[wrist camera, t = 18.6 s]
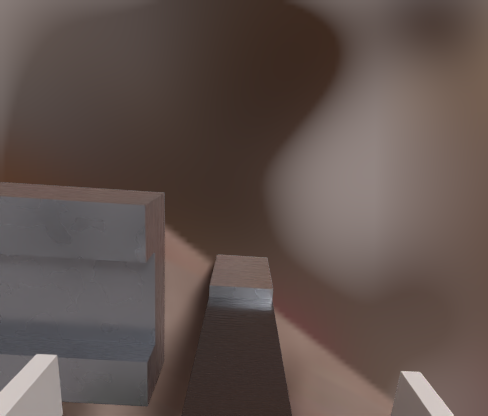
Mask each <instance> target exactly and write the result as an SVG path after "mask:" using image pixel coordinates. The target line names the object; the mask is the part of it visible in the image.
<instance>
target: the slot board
mask: <svg viewBox="0 0 488 416" xmlns="http://www.w3.org/2000/svg"><path fill="white" fill-rule="evenodd" d="M164 209H165V193H161V192H145V191H129V190H114V189H99V188H82V187H68V186H51V185H36V184H20V183H6V182H0V392H1V391H2V390H3V388H4V387H5V386H6V385H7V384H8V383H9V382H10V381H11V380H12V379H13V378H14V377H15V376H16V375H17V374H18V373H19V372H20V371H21V370H22V369H23V368H24V367H25V366H26V365H27V363H28V362H29V361H30V360H31V359H32V358H33V357H34V356H35V355H36V354H47V355H57V357H58V368H59V378H60V389H61V399H62V402H78V403H96V404H114V405H131V406H148V404H149V402H150V399H151V396H152V393H153V391H154V388H155V385H156V383H157V380H158V377H159V374H160V372H161V369H162V366H163V363H164V233H165V216H164V215H165V211H164Z"/></svg>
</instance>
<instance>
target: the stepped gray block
mask: <svg viewBox="0 0 488 416" xmlns="http://www.w3.org/2000/svg"><path fill="white" fill-rule="evenodd" d="M272 296H273V286H272V281H271V275H270V270H269V266H268V259H267V258H262V257H247V256H232V255H231V256H230V255H217V257H216V261H215V265H214V269H213V273H212V278H211V282H210V287H209V299H208V303H207V308H206V312H205V316H204V321H203V325H202V329H201V334H200V338H199V342H198V347H197V351H196V355H195V360H194V364H193V368H192V373H191V377H190V381H189V386H188V390H187V394H186V399H185V403H184V407H183V412H182V416H292V414H291V408H290V402H289V396H288V390H287V384H286V378H285V373H284V367H283V361H282V355H281V349H280V343H279V337H278V331H277V326H276V320H275V314H274V308H273V302H272Z"/></svg>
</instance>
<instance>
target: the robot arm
mask: <svg viewBox="0 0 488 416" xmlns="http://www.w3.org/2000/svg"><path fill="white" fill-rule="evenodd" d="M62 415H63V410H62V399H61V389H60V378H59V368H58V357H57V355H47V354H36V355H35V356H34V357H33V358H32V359H31V360H30V361H29V362H28V363H27V365H26V366H25V367H24V368H23V369H22V370H21V371H20V372H19V373H18V374H17V375H16V376H15V377H14V378H13V379H12V380H11V381H10V382H9V383H8V384H7V385H6V386H5V387H4V388H3V390H2V391H1V392H0V416H62ZM391 416H454V415H453V414H452V412H451V411H450V410H449V409H448V407H447V406H446V405H445V403H444V402H443V401H442V399H441V398H440V397H439V396H438V395H437V393H436V392H435V390H434V389H433V388H432V387H431V385H430V384H429V383H428V381H427V380H426V379H425V378H424V377H423V375H422V374H421V373H420V372H407V371H401V373H400V377H399V381H398V386H397V390H396V395H395V399H394V404H393V408H392V413H391Z"/></svg>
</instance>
